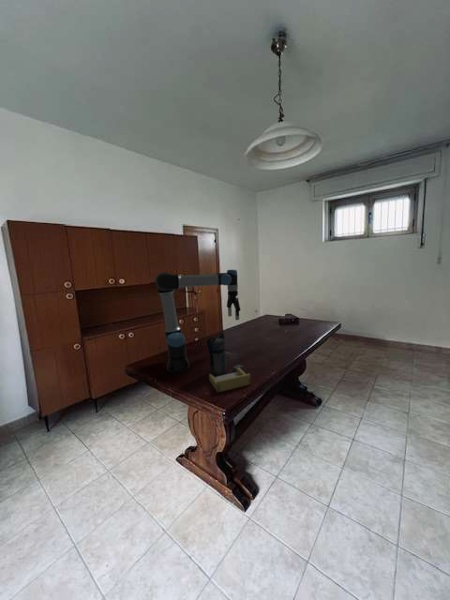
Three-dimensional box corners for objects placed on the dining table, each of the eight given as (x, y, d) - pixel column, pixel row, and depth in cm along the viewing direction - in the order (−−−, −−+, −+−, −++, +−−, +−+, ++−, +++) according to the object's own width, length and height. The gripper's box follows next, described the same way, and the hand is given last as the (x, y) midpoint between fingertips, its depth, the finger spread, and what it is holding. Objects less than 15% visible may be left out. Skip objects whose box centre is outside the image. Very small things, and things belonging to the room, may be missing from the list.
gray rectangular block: (237, 373, 157) (236, 368, 157) (232, 371, 160) (232, 367, 160) (243, 370, 161) (243, 366, 161) (239, 368, 164) (239, 364, 164)
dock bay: (217, 392, 135) (217, 382, 134) (209, 380, 150) (208, 370, 149) (250, 384, 142) (250, 374, 141) (239, 373, 157) (239, 364, 156)
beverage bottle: (204, 373, 159) (202, 336, 154) (220, 367, 167) (218, 331, 163) (214, 378, 151) (212, 339, 147) (230, 371, 159) (229, 334, 155)
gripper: (244, 291, 176) (245, 320, 179) (230, 288, 198) (231, 314, 202) (235, 292, 173) (235, 322, 176) (221, 289, 196) (222, 315, 199)
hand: (233, 318), depth 189 cm, fingers open, 13 cm apart
